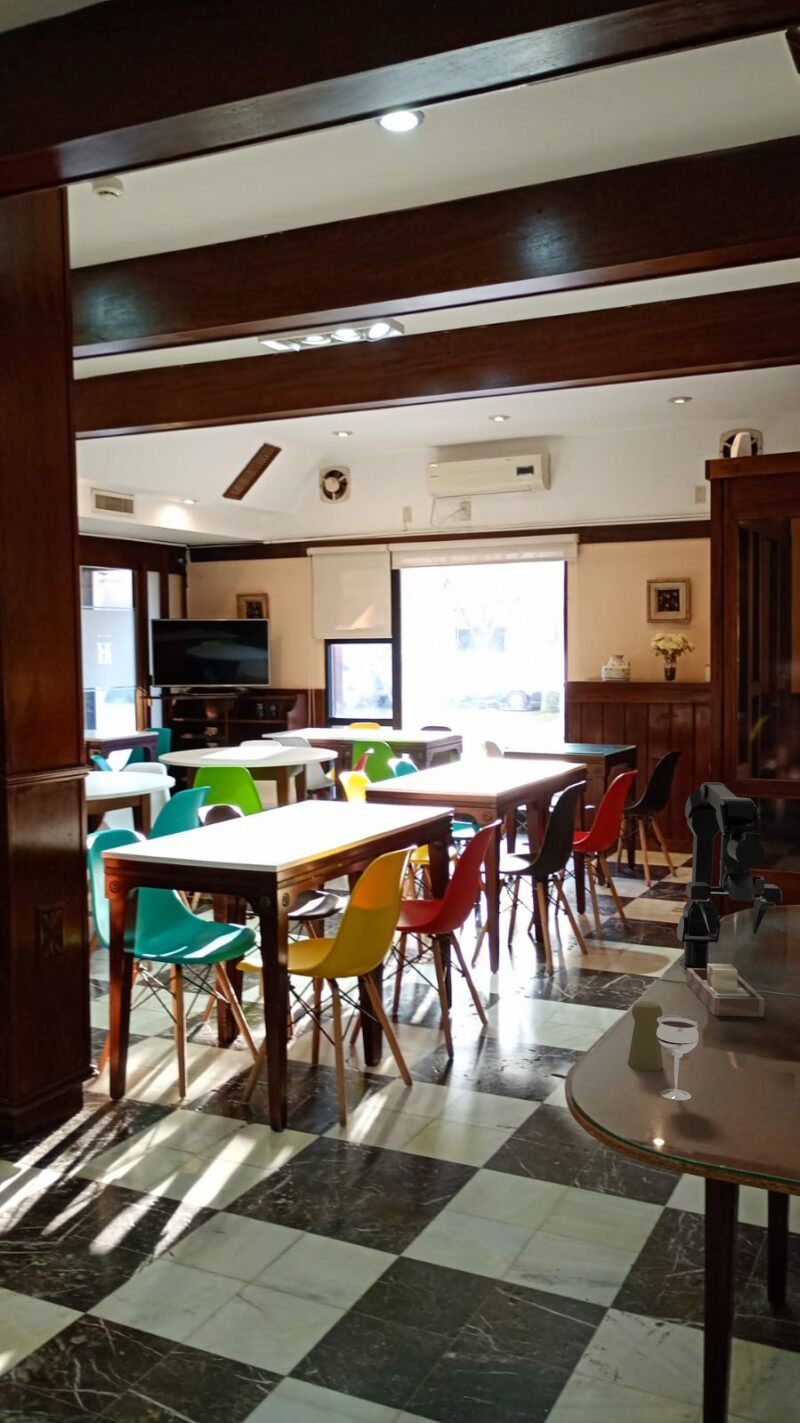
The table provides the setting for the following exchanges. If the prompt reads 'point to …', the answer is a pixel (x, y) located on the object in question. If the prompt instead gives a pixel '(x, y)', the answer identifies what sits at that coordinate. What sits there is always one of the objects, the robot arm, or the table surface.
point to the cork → (645, 1037)
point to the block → (722, 976)
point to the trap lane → (725, 996)
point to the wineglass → (677, 1045)
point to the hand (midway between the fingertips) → (732, 932)
